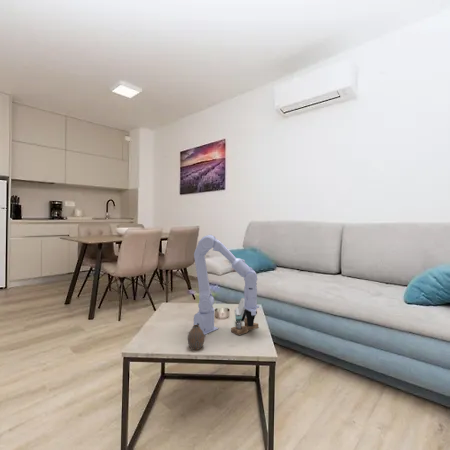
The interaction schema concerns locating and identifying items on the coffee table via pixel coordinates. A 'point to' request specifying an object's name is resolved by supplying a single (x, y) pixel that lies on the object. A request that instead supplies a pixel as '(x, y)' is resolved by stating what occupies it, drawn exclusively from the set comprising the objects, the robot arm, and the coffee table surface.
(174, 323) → the coffee table surface
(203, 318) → the robot arm
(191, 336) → the vase
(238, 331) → the link
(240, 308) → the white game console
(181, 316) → the coffee table surface
